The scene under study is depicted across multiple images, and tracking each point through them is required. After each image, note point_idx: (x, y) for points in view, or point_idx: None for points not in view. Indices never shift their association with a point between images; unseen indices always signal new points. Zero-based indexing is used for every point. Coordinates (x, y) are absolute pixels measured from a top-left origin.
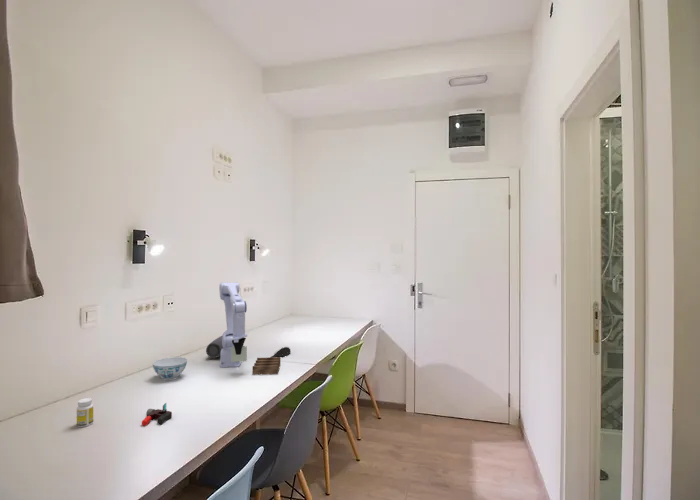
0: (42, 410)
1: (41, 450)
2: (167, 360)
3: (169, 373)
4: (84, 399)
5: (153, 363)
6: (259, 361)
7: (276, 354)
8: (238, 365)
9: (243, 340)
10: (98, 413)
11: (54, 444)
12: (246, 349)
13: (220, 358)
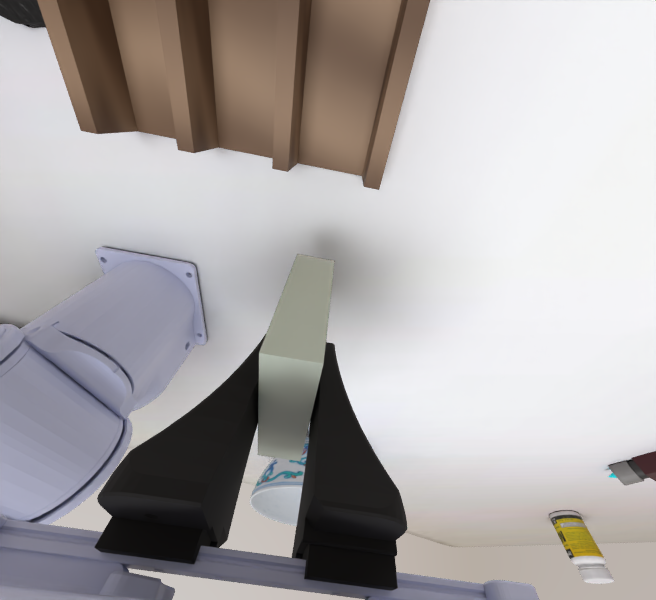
0: (440, 535)
1: (636, 531)
2: (262, 501)
3: None
4: (591, 581)
5: None
6: (192, 106)
7: None
8: (181, 267)
9: (331, 514)
10: (515, 507)
11: (626, 526)
12: (292, 323)
13: (174, 374)
